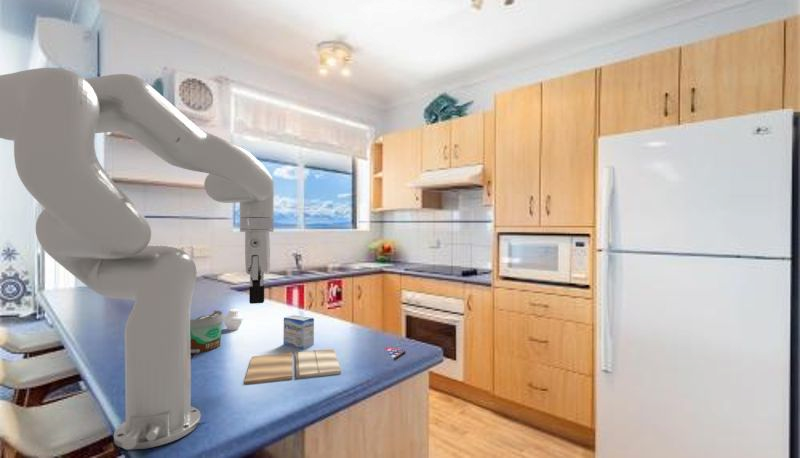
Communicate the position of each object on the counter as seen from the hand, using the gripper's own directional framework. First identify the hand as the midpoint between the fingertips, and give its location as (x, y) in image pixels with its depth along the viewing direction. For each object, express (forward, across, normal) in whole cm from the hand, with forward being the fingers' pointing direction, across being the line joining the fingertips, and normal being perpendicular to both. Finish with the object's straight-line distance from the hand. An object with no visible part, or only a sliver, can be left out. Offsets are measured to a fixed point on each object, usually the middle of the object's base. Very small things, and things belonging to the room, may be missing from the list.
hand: (256, 302), depth 90 cm
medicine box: (+17, +17, -10) cm, 26 cm away
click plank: (+17, 0, -3) cm, 17 cm away
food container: (+17, +21, +14) cm, 31 cm away
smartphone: (+17, +1, -31) cm, 35 cm away
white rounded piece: (+17, +43, +11) cm, 48 cm away
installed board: (+17, 0, -14) cm, 22 cm away
